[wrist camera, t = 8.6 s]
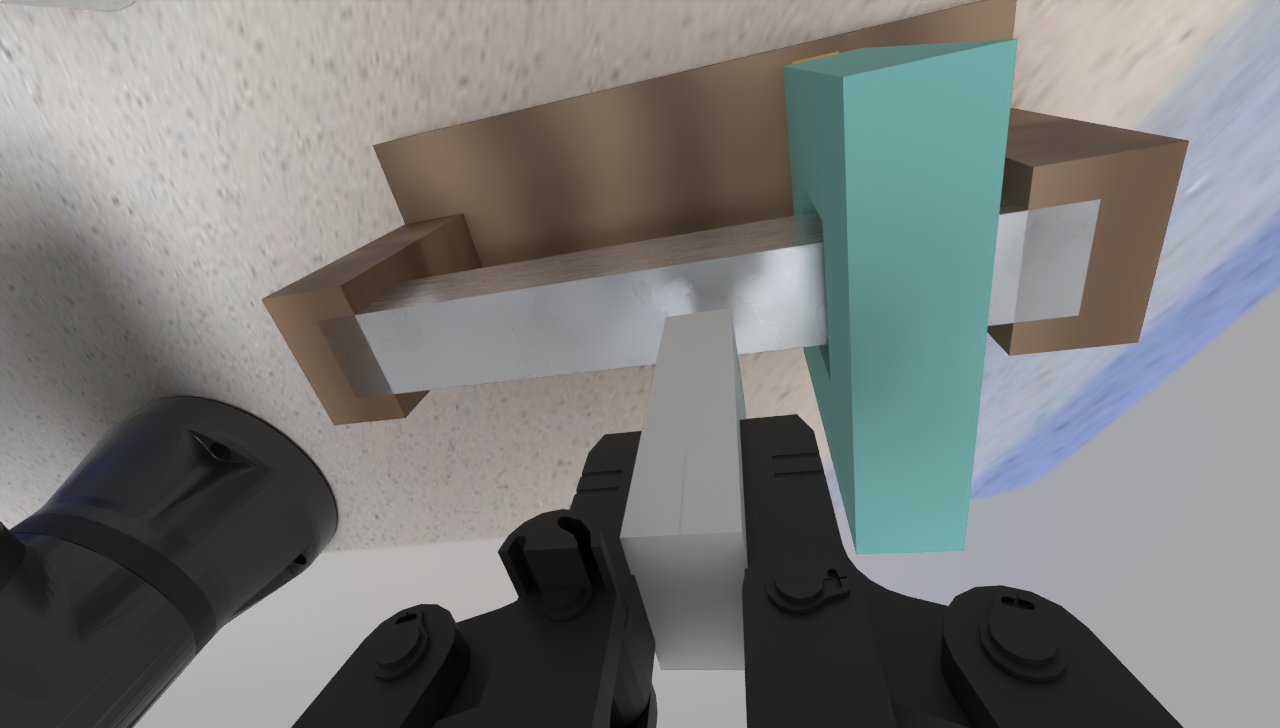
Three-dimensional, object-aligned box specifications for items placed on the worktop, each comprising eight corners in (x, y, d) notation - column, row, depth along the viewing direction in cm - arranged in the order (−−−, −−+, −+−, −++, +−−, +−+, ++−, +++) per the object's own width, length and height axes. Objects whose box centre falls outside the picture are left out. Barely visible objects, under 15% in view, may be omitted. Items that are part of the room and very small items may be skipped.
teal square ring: (804, 351, 23) (856, 554, 14) (782, 65, 18) (842, 76, 9) (865, 344, 23) (964, 551, 13) (861, 48, 18) (1017, 38, 8)
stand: (480, 365, 30) (375, 496, 21) (391, 141, 25) (197, 189, 16) (971, 304, 25) (1111, 447, 16) (997, -3, 19) (1238, -56, 10)
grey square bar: (401, 356, 21) (356, 398, 19) (368, 287, 20) (315, 321, 17) (1023, 274, 16) (1078, 315, 14) (1037, 174, 15) (1100, 199, 13)
